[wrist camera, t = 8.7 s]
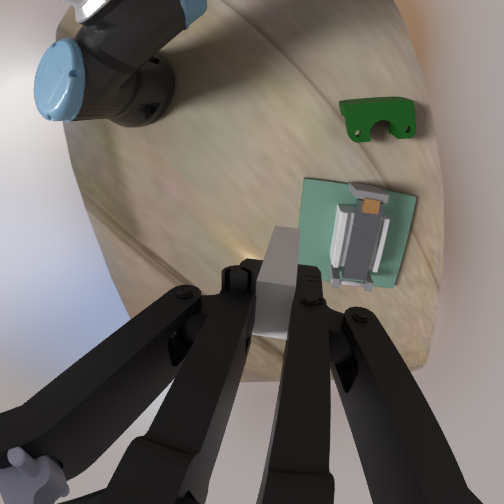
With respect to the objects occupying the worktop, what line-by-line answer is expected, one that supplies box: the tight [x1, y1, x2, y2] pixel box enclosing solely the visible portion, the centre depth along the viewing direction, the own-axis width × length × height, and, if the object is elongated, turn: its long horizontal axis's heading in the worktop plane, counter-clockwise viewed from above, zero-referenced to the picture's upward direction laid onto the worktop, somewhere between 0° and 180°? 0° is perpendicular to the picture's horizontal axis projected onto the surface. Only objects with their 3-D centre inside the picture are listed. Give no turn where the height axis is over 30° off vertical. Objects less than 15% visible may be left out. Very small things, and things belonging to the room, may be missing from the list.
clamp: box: [339, 97, 416, 143], centre depth 35 cm, size 12×6×9 cm, turn 96°
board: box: [298, 178, 416, 291], centre depth 42 cm, size 18×20×8 cm
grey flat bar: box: [342, 198, 384, 281], centre depth 39 cm, size 14×4×2 cm, turn 176°
